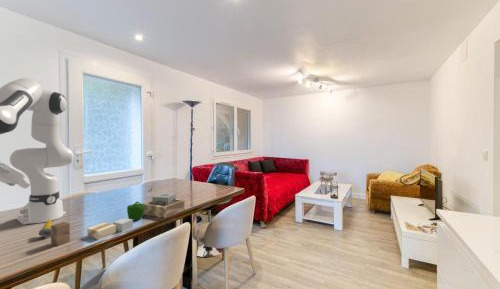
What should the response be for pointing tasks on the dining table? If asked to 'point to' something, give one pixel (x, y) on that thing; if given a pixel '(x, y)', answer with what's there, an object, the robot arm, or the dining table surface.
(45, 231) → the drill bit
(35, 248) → the dining table surface
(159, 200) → the icon cube
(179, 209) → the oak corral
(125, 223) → the grey painted block
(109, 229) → the maple block
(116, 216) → the dining table surface
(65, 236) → the walnut block
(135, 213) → the bell pepper
